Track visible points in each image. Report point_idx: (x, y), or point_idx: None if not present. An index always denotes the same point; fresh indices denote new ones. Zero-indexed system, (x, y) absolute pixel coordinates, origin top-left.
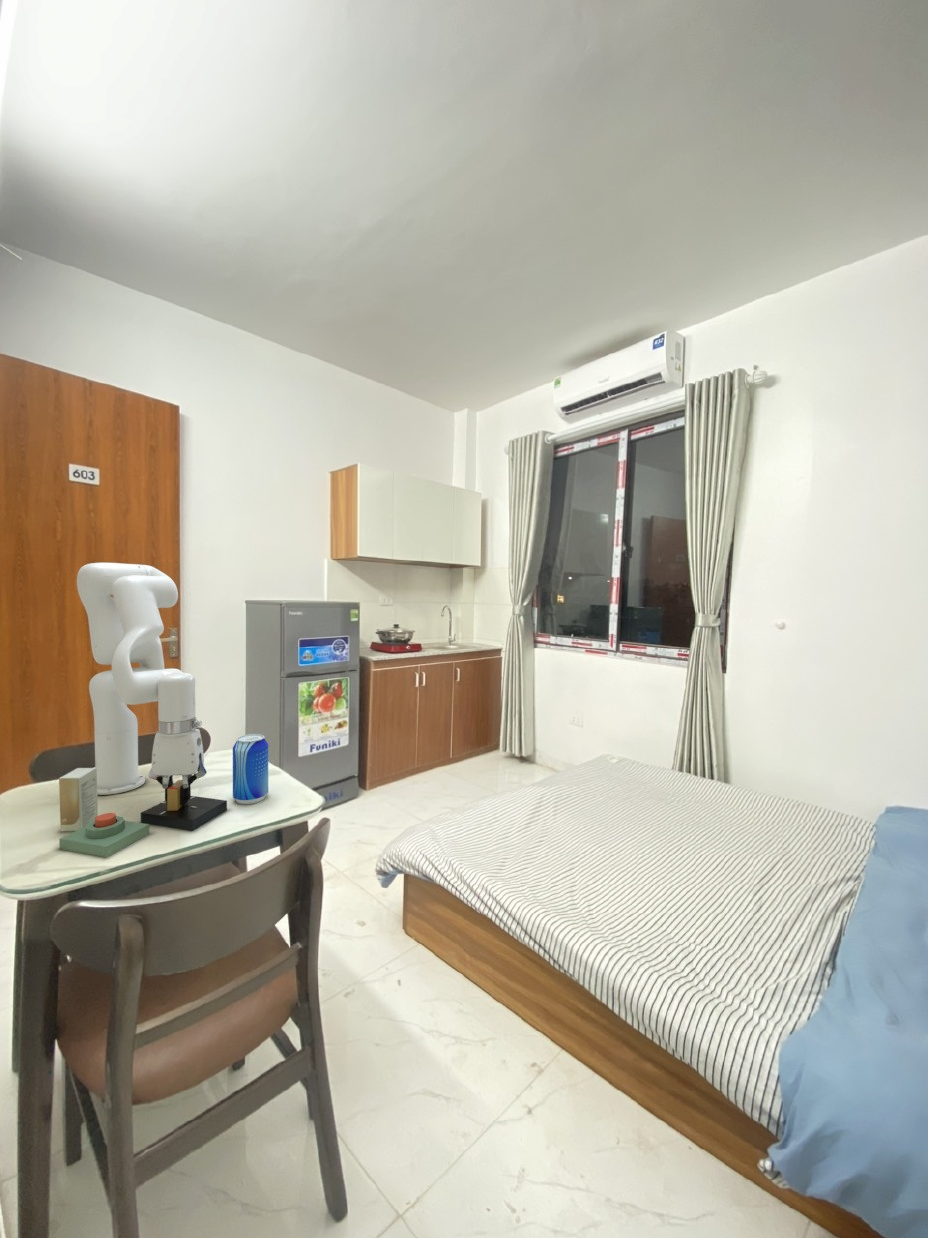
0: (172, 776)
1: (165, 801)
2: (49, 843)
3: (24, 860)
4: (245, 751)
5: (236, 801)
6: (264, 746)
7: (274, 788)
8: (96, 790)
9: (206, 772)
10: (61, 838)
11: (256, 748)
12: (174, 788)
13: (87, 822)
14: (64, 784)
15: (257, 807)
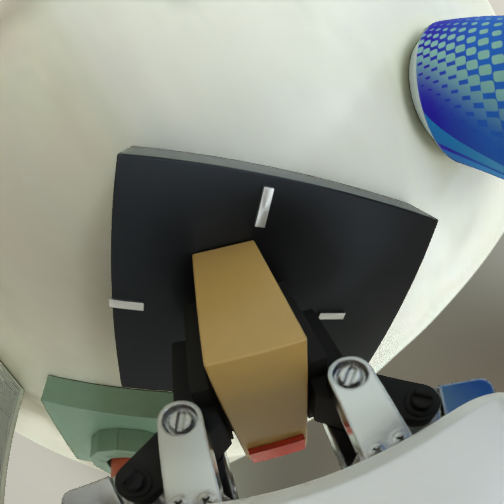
0: (218, 473)
1: (124, 283)
2: (35, 422)
3: (71, 454)
4: None
5: (421, 120)
6: None
7: (468, 14)
8: None
9: (490, 388)
10: (81, 459)
11: None
12: (290, 451)
13: (7, 383)
14: None
15: (473, 172)
